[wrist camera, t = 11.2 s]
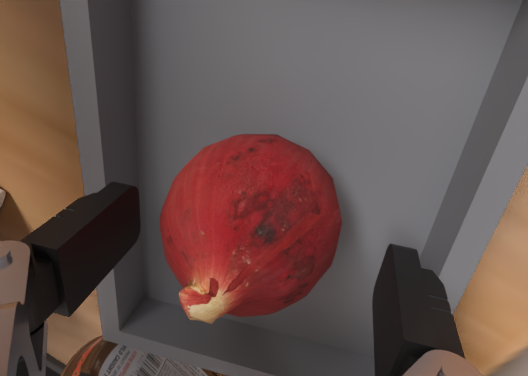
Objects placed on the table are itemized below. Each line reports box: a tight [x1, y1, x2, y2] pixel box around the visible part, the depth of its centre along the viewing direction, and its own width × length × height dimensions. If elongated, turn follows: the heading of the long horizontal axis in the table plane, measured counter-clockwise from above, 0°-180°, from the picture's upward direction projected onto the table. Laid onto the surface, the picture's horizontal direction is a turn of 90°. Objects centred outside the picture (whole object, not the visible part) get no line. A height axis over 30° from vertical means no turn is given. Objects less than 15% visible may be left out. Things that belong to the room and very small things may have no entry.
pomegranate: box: [159, 134, 342, 324], centre depth 12 cm, size 6×6×8 cm
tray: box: [60, 0, 528, 376], centre depth 15 cm, size 20×15×4 cm
